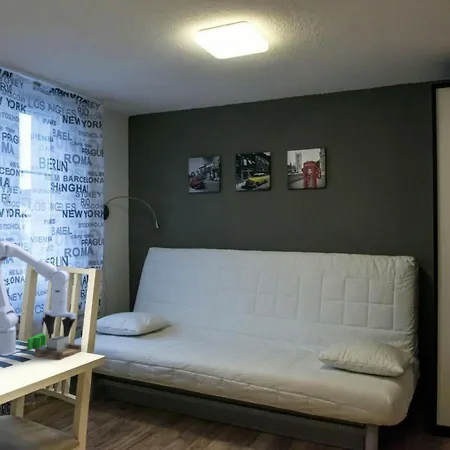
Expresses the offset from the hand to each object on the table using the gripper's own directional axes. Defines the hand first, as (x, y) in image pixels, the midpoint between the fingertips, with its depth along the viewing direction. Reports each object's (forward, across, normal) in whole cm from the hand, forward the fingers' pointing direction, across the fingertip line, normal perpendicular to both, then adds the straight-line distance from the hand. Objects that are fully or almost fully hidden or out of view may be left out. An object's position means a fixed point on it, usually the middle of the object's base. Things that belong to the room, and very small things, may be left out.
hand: (58, 335), depth 191 cm
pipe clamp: (+8, -14, +5) cm, 17 cm away
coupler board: (+7, 0, 0) cm, 7 cm away
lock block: (+6, 0, 0) cm, 6 cm away
